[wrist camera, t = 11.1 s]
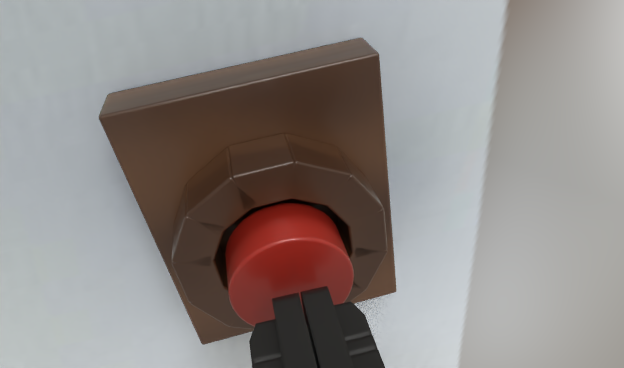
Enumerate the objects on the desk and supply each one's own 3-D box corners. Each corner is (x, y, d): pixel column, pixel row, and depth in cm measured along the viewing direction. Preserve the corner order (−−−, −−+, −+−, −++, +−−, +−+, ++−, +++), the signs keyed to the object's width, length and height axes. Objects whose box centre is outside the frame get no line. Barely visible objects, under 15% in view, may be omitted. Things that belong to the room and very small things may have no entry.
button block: (106, 93, 14) (84, 147, 11) (362, 36, 15) (403, 73, 12) (201, 313, 20) (202, 386, 17) (383, 264, 20) (414, 327, 18)
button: (211, 218, 14) (213, 259, 12) (331, 188, 14) (347, 224, 12) (240, 302, 16) (245, 345, 14) (345, 274, 16) (360, 314, 14)
